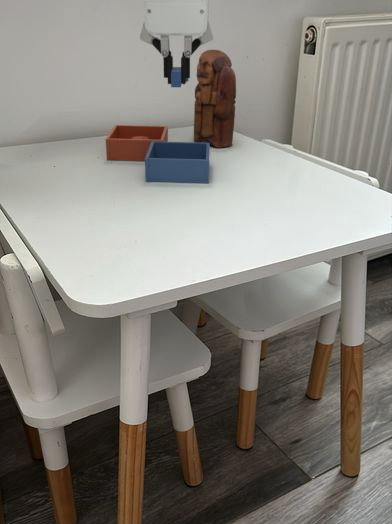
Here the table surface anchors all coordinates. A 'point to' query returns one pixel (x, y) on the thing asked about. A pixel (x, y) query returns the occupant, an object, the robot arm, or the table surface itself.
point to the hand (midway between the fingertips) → (177, 82)
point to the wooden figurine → (214, 99)
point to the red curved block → (139, 137)
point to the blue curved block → (176, 77)
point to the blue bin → (177, 162)
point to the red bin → (133, 141)
